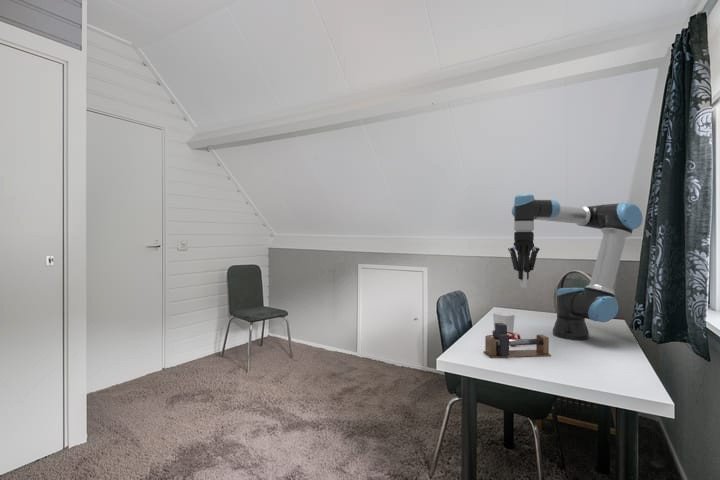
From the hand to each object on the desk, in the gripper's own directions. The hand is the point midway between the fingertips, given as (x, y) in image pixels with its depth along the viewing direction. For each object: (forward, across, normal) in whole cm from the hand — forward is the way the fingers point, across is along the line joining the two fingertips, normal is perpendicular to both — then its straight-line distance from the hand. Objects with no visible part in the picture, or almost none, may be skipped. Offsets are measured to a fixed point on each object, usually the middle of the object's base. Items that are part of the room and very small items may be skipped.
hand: (523, 287), depth 156 cm
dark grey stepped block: (+26, +13, +6) cm, 30 cm away
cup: (+27, -4, -25) cm, 37 cm away
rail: (+26, +6, +6) cm, 28 cm away
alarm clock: (+27, +2, -10) cm, 29 cm away
